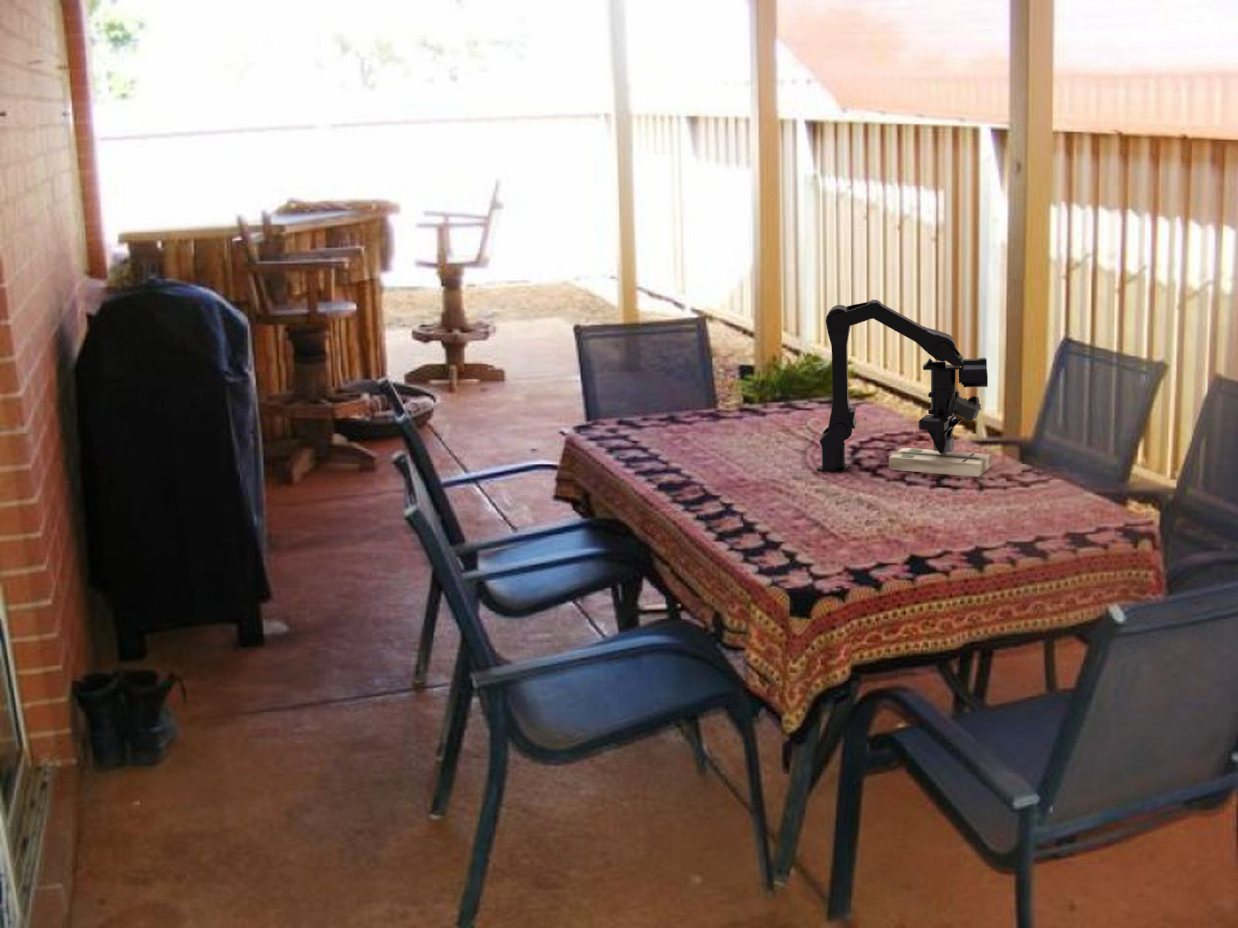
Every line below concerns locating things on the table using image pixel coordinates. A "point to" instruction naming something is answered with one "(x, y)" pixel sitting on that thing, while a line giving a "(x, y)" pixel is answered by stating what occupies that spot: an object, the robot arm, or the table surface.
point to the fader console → (940, 462)
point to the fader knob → (947, 445)
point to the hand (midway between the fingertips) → (943, 451)
